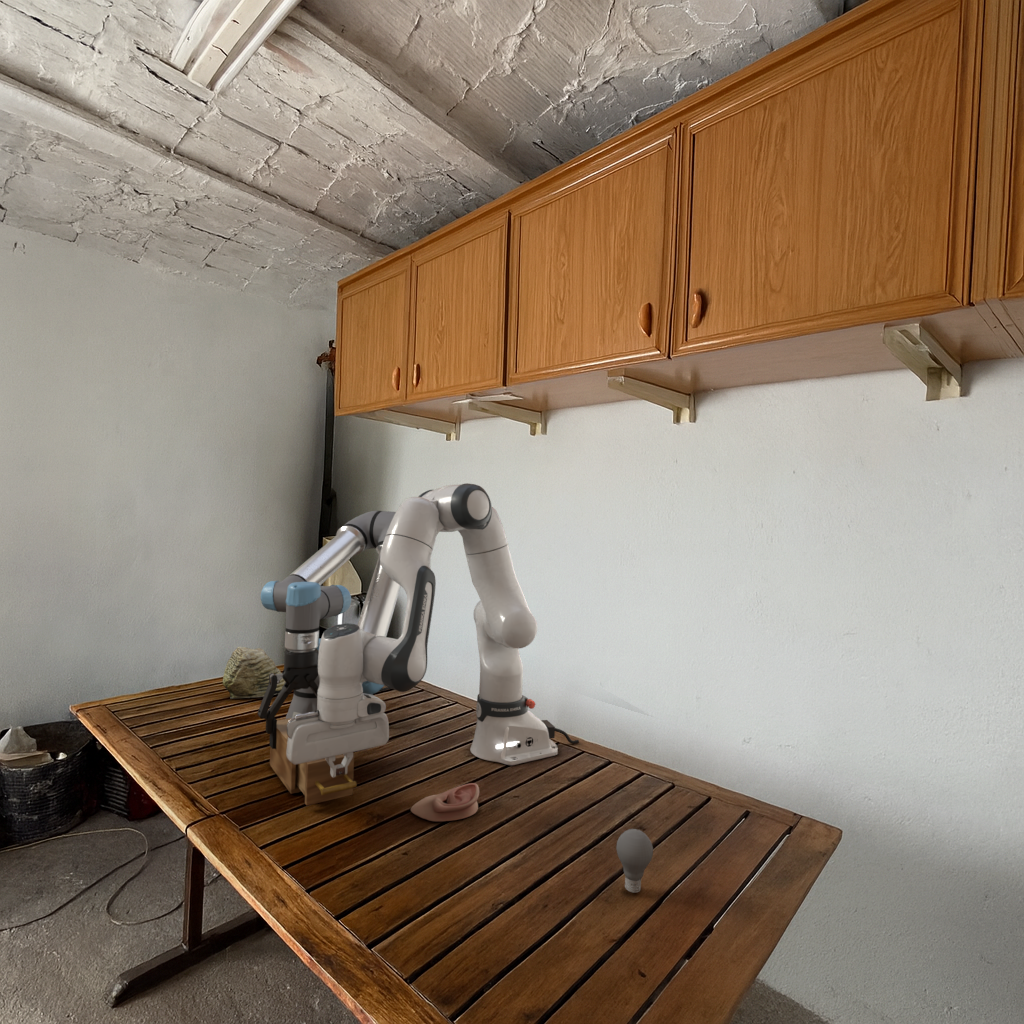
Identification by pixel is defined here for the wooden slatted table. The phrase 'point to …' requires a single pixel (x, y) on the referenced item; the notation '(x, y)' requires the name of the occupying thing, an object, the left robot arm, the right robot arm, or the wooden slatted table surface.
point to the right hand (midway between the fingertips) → (338, 774)
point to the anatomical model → (449, 804)
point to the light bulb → (634, 857)
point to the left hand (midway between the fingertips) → (298, 742)
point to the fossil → (249, 673)
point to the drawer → (324, 780)
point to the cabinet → (283, 758)
